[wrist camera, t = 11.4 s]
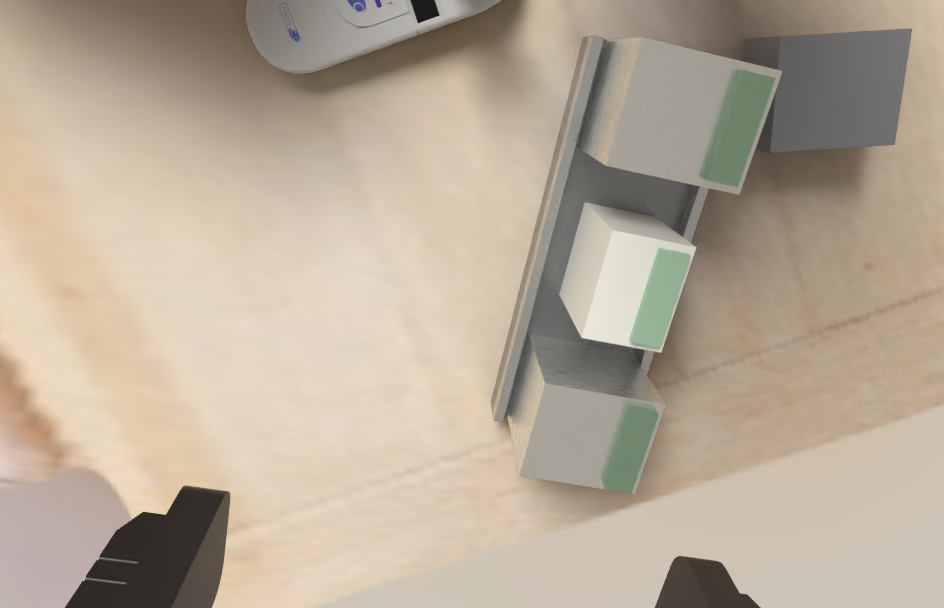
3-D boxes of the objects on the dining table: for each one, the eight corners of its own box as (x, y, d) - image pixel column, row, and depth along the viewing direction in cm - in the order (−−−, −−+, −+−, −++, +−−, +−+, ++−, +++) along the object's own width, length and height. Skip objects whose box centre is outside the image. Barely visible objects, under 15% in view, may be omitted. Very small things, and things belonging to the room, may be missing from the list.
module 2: (744, 38, 40) (780, 36, 36) (862, 31, 40) (911, 28, 36) (736, 143, 42) (770, 153, 38) (848, 135, 42) (894, 144, 38)
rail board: (583, 36, 39) (624, 31, 31) (729, 71, 40) (808, 76, 32) (491, 402, 47) (503, 479, 38) (615, 423, 48) (654, 503, 40)
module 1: (584, 202, 41) (615, 232, 34) (655, 217, 42) (699, 249, 35) (559, 294, 43) (583, 340, 36) (627, 307, 44) (663, 355, 37)
